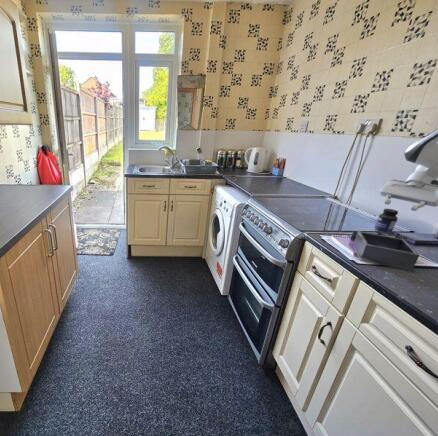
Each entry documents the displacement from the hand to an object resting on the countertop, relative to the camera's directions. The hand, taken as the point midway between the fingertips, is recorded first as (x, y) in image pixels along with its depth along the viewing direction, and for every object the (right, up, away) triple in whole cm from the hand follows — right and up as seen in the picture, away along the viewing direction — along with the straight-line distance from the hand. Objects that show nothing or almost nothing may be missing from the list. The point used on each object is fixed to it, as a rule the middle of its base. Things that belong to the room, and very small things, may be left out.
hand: (399, 206), depth 111 cm
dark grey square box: (-29, -20, -21) cm, 41 cm away
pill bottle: (-7, -12, +2) cm, 14 cm away
